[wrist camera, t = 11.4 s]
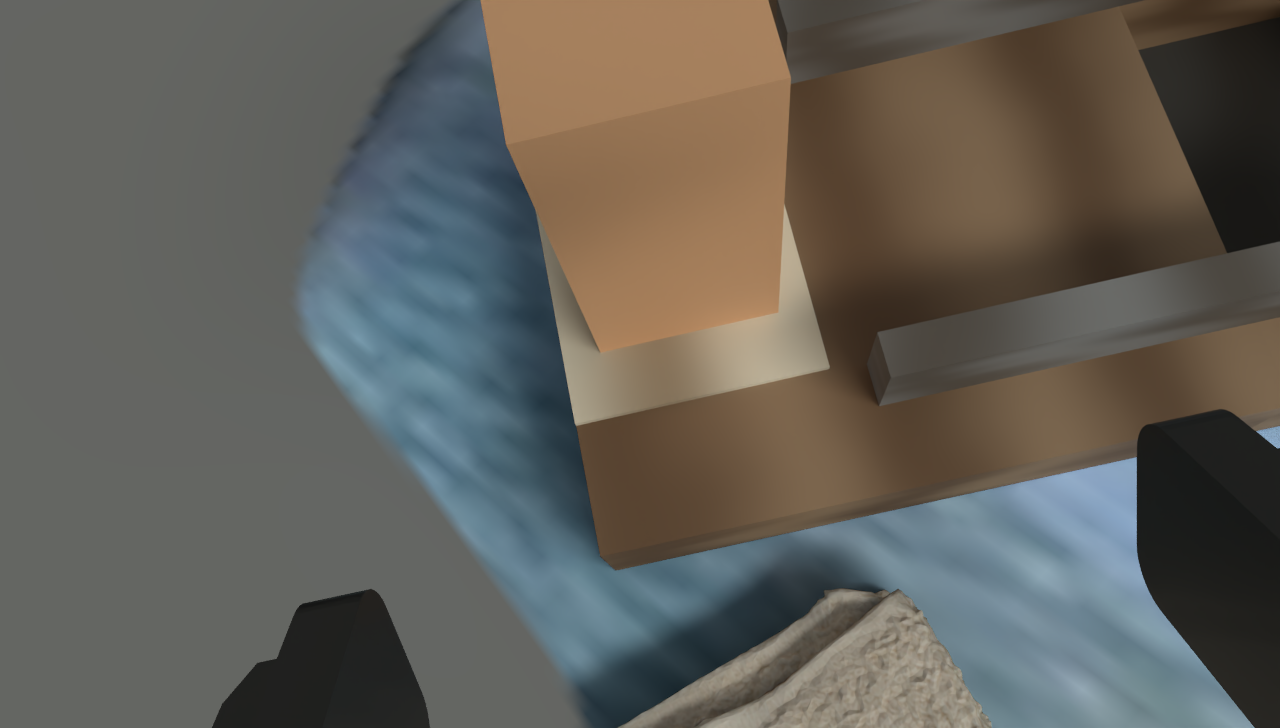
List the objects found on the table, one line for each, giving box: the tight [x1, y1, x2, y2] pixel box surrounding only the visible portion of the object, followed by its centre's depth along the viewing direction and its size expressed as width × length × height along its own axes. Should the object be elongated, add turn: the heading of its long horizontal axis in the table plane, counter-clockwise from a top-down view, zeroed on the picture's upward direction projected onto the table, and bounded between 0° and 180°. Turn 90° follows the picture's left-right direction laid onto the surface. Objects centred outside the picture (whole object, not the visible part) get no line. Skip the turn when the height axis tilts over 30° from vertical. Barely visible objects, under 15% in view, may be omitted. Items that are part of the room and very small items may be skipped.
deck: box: [536, 0, 1280, 570], centre depth 28 cm, size 26×16×6 cm, turn 102°
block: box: [481, 0, 791, 353], centre depth 23 cm, size 5×5×11 cm
